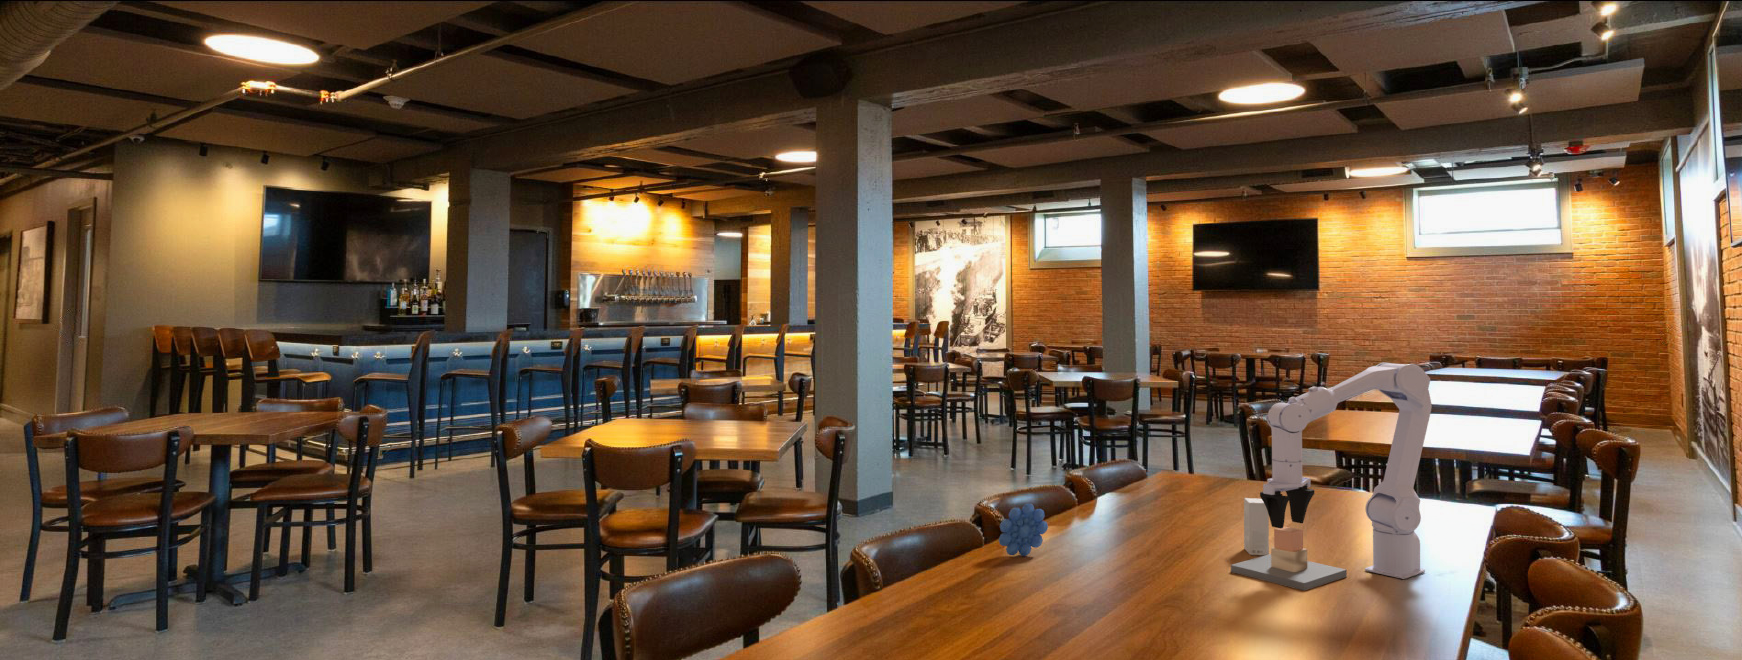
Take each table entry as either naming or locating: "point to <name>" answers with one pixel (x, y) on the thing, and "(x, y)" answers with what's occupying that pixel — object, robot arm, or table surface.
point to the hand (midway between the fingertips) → (1287, 524)
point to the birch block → (1289, 559)
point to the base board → (1289, 573)
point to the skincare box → (1256, 527)
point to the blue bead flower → (1023, 530)
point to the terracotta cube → (1288, 539)
